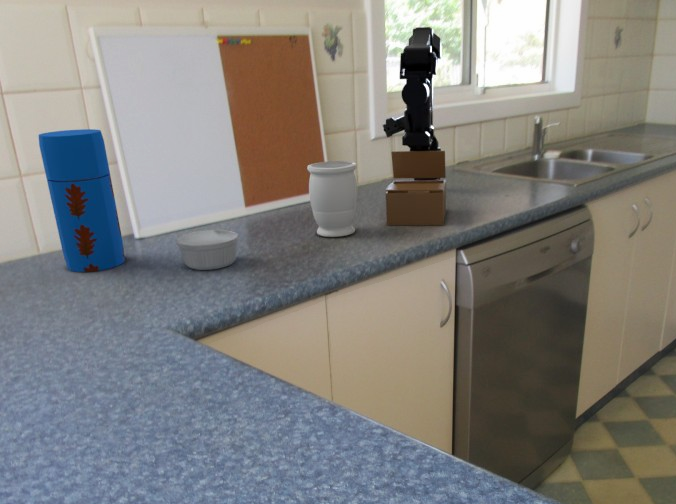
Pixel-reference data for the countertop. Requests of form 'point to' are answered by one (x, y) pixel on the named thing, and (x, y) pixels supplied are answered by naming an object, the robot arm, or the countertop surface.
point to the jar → (333, 197)
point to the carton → (416, 202)
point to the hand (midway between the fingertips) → (419, 170)
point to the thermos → (82, 199)
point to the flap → (418, 164)
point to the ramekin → (208, 249)
